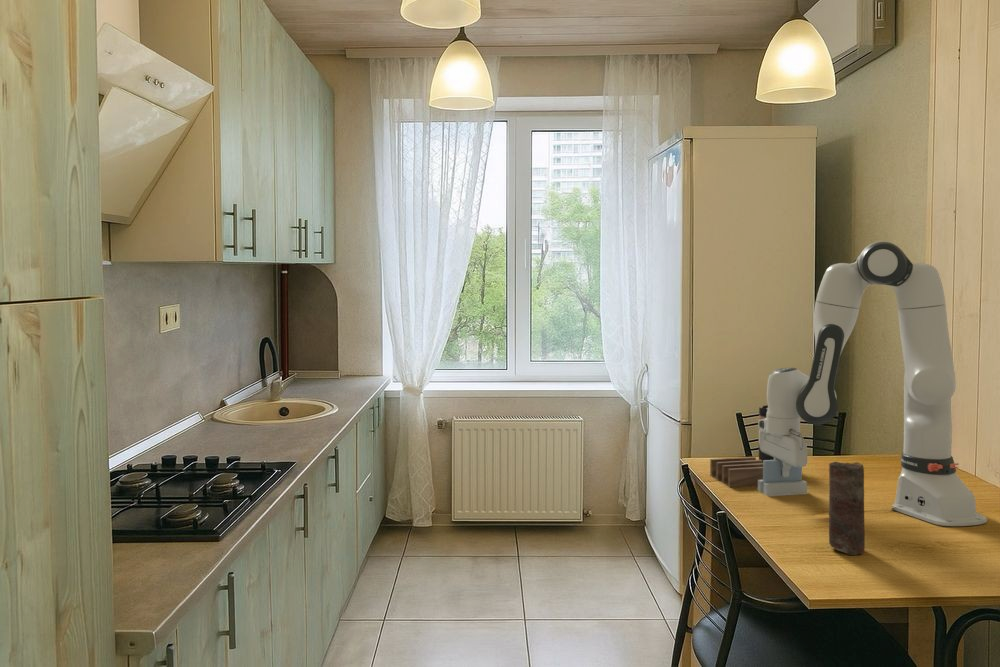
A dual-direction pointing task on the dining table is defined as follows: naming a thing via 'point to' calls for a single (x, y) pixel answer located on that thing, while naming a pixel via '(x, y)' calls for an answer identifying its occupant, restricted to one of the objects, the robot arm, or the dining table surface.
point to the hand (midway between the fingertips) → (782, 475)
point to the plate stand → (783, 488)
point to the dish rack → (737, 471)
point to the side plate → (779, 472)
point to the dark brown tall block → (846, 507)
